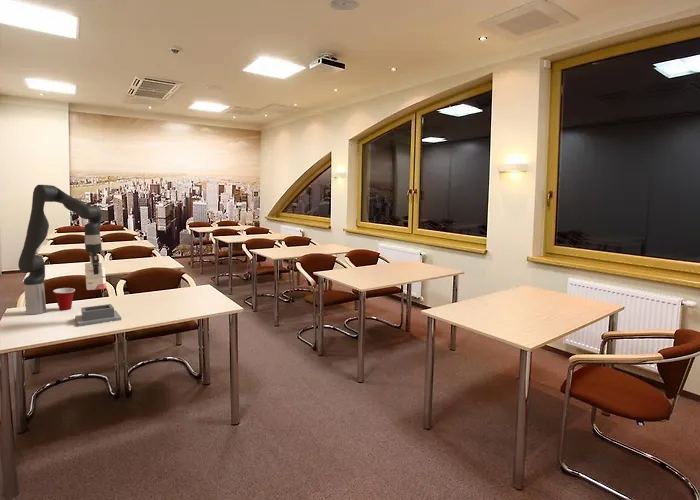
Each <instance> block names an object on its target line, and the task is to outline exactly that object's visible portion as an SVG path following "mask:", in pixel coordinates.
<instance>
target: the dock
mask: <svg viewBox="0 0 700 500" xmlns="http://www.w3.org/2000/svg"><path fill="white" fill-rule="evenodd" d="M80 310H81V311H80V312H81V314H80V315H78V314H77V315H75V321H76V323H77V326H78V327H84V326H90V325H97V324H103V322H105V323H110V321H112V322H118V321H122V316H121V315H120V314H119V312H118V311H117V310H116V309H115V307H114V306H113V305H112V304H111V303H108V304H99V305H92V306H84V307H81V308H80Z"/></svg>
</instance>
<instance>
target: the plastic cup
mask: <svg viewBox="0 0 700 500" xmlns="http://www.w3.org/2000/svg"><path fill="white" fill-rule="evenodd" d="M75 291H76V289H75V288H71V287H62V288H56V289H53V290H52V292H53V294H54V296H55V298H56V299H55V300H56V303H57V306H58V310H60V311H69V310H71V309H72V305H73V300H74V299H73V298H74V294H75Z"/></svg>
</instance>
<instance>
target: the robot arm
mask: <svg viewBox="0 0 700 500" xmlns="http://www.w3.org/2000/svg"><path fill="white" fill-rule="evenodd" d="M31 200H32V201H31V210H30V216H29V220H28V221H29V222H28V225H27V229H26V236H25V239H24V240H25V241H24V242H23V243H24V244H23V247H22V250H21V253H20V256H19V259H18V265H17V266H18V269H19V271H20V272H22V273H24V274H28V275H27V276H26V277H25V278H24V279H23V289H24V291H23V292H24V303H25V313H26V315H27V316H28V315H38V314H44V313H46V312H47V304H46V303H47V302H46V293H45V279H46V263H45V259H44V258H43V257H42V256H41V255H39V254H36V253H37V251H38V249H39V248H40V247H41V246H42V244H43V243H44V241H45V240H46V238H47V237H48V232H49V229H50V227H49V226H50V223H49V220H48V219H47V216H46V214H45V211H44V209H45V204H46V203H52V202H53V203H59V204H61V205H63V207H64V208H65V209H67V210H68V211H71V212H73V213H75V214H76V215H77V216H78V217H80V218H82V219H83V220H89V222H88V223H85V224H84V230H83V231H84V248H85V253H89V263H92V264H93V265H91V266H93V272H94V275H96V274H99V273H98V267H99V263H100V260H99V258H100V255H99V254H98V253H100V252H102V251H103V250H102V238H101V231H100V230H101V229H100V227H101V223H102V217H103V210H102V208H101V207H100V206H98V205H87V204H86V203H85V202H84V201H83V200H80V199H77V198H75V197H73V196H71V195H69V194H67V192H65V191H63V190H62V189H60V188H58V187H57V186H56V185H51V184H37V185H36V186H35V187H34V189H33V192H32V199H31ZM94 264H97V265H94Z"/></svg>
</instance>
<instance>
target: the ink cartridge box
mask: <svg viewBox="0 0 700 500" xmlns="http://www.w3.org/2000/svg"><path fill="white" fill-rule="evenodd" d="M91 265H93V264H92V263H91V262H86V263H85V264H84V272H85V273H84V274H85V285H86V286H85V287H86V290H87V291H90V290H93V291H95V290H104V289H106V288H107V281H106V280H107V279H106V269H105V266H103V265H102V262H99V267H98V273H99V274H96V275H94V272H93V266H91ZM94 265H97V264H94Z"/></svg>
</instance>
